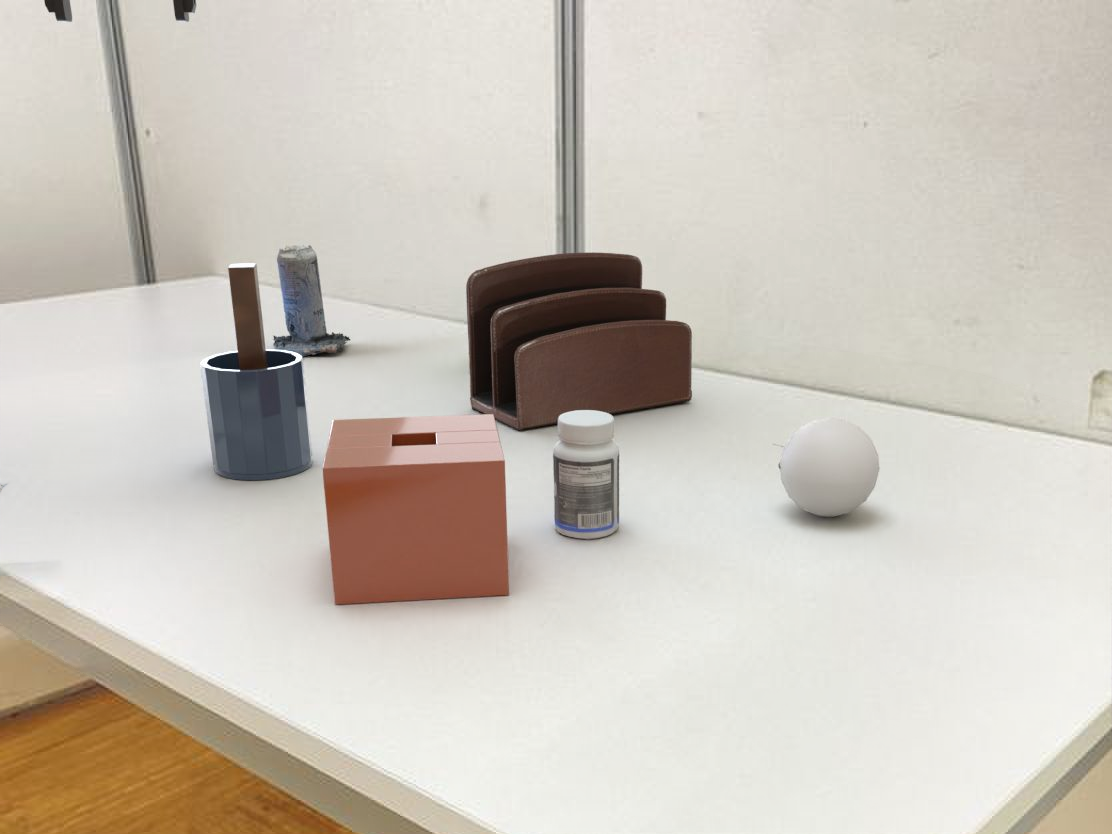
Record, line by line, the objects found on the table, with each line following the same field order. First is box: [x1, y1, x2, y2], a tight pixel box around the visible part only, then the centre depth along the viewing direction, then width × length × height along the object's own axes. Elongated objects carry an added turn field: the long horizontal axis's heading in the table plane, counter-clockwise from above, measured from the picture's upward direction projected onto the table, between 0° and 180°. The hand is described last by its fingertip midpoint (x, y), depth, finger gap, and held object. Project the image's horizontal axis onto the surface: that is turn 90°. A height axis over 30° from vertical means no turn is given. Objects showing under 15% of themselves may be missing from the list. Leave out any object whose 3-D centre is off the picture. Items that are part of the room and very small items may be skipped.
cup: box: [199, 348, 313, 481], centre depth 104 cm, size 8×8×9 cm
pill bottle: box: [552, 410, 620, 540], centre depth 90 cm, size 5×5×8 cm
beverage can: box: [272, 244, 351, 358], centre depth 144 cm, size 9×8×12 cm
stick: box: [227, 262, 268, 370], centre depth 103 cm, size 2×2×16 cm
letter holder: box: [465, 251, 693, 431], centre depth 121 cm, size 10×20×14 cm, turn 123°
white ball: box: [771, 417, 880, 518], centre depth 94 cm, size 10×7×7 cm
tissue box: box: [321, 413, 510, 605], centre depth 83 cm, size 11×11×9 cm
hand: (123, 21), depth 94 cm, fingers open, 8 cm apart
